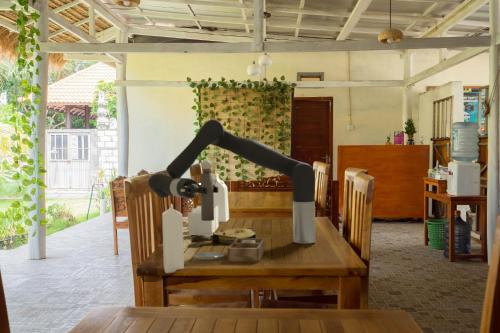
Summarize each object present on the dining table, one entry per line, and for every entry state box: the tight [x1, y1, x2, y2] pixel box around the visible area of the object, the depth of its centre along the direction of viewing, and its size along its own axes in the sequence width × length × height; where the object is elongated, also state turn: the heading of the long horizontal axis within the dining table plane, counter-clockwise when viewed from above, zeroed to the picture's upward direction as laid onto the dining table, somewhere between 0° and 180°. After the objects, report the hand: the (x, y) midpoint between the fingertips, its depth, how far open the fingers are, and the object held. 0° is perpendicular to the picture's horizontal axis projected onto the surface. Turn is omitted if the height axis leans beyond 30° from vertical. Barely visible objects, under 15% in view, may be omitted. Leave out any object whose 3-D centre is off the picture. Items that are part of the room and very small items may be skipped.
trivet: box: [193, 251, 225, 260], centre depth 169 cm, size 11×11×1 cm
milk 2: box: [213, 173, 230, 223], centre depth 259 cm, size 12×12×26 cm
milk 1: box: [161, 203, 185, 274], centre depth 153 cm, size 6×6×22 cm
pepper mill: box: [199, 159, 214, 221], centre depth 168 cm, size 5×5×22 cm
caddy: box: [226, 237, 266, 263], centre depth 168 cm, size 11×18×6 cm, turn 172°
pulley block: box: [190, 227, 257, 245], centre depth 198 cm, size 14×6×30 cm
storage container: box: [187, 205, 220, 236], centre depth 227 cm, size 25×11×11 cm, turn 177°
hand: (211, 190), depth 166 cm, fingers closed on pepper mill, 4 cm apart
